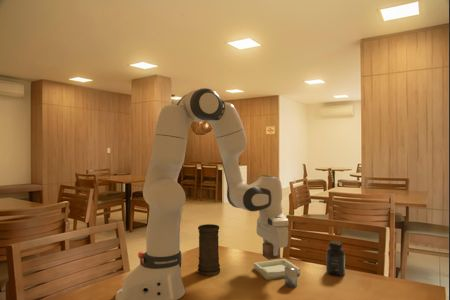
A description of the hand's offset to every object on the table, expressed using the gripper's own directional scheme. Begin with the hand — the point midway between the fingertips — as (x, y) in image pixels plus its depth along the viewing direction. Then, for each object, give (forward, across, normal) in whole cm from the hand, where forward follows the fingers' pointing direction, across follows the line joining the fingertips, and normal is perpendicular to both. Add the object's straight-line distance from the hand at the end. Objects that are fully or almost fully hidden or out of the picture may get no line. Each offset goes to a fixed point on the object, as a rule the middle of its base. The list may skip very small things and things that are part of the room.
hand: (271, 252), depth 130 cm
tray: (+8, -1, +3) cm, 9 cm away
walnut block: (+2, 0, 0) cm, 2 cm away
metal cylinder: (+8, +12, +2) cm, 15 cm away
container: (+8, -10, -22) cm, 26 cm away
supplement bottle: (+9, +8, +24) cm, 26 cm away
